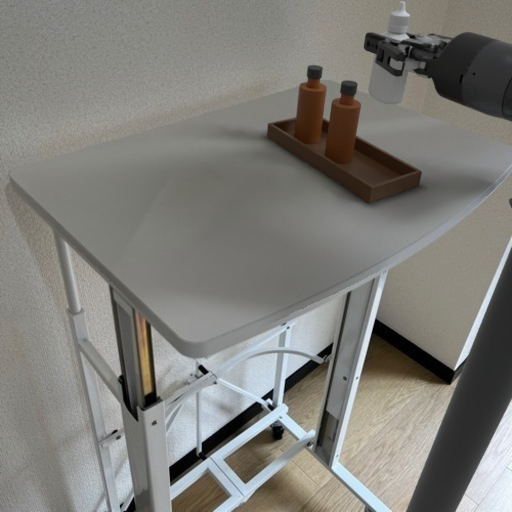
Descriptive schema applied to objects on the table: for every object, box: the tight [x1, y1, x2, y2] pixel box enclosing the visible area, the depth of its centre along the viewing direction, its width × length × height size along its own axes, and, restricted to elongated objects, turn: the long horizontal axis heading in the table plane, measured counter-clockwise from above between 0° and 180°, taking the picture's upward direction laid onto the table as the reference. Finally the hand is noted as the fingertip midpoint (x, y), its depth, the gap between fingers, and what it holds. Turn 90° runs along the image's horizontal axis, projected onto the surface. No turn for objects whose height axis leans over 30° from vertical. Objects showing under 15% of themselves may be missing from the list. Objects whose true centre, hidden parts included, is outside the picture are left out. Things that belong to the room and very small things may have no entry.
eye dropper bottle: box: [367, 1, 412, 105], centre depth 71 cm, size 4×6×12 cm
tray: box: [266, 116, 423, 204], centre depth 88 cm, size 10×25×2 cm, turn 34°
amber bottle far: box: [294, 64, 328, 144], centre depth 90 cm, size 4×4×12 cm
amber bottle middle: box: [325, 79, 362, 163], centre depth 84 cm, size 4×4×12 cm
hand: (378, 39), depth 72 cm, fingers closed on eye dropper bottle, 3 cm apart
